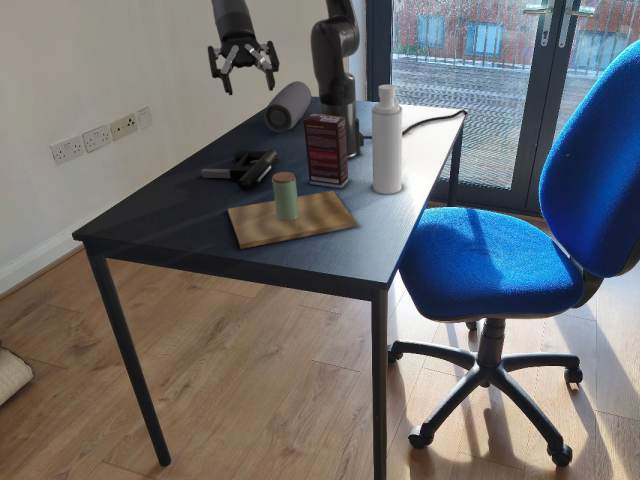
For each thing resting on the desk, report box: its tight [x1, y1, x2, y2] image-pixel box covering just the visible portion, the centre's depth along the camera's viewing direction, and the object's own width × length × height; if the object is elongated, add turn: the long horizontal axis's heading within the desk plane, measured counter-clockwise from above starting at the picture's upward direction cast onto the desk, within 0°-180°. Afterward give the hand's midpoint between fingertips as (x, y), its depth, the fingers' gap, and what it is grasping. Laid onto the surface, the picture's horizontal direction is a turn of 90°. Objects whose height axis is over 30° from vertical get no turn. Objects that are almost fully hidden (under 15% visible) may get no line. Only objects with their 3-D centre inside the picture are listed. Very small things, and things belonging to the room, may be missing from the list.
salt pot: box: [271, 171, 299, 221], centre depth 116 cm, size 5×5×9 cm
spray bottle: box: [371, 84, 403, 195], centre depth 124 cm, size 7×7×25 cm
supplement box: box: [303, 112, 349, 189], centre depth 130 cm, size 9×5×16 cm, turn 71°
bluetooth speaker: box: [263, 80, 312, 133], centre depth 165 cm, size 23×9×10 cm, turn 172°
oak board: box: [227, 190, 357, 250], centre depth 119 cm, size 24×16×1 cm, turn 111°
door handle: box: [200, 148, 279, 191], centre depth 138 cm, size 3×20×16 cm
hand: (251, 91), depth 117 cm, fingers open, 8 cm apart
